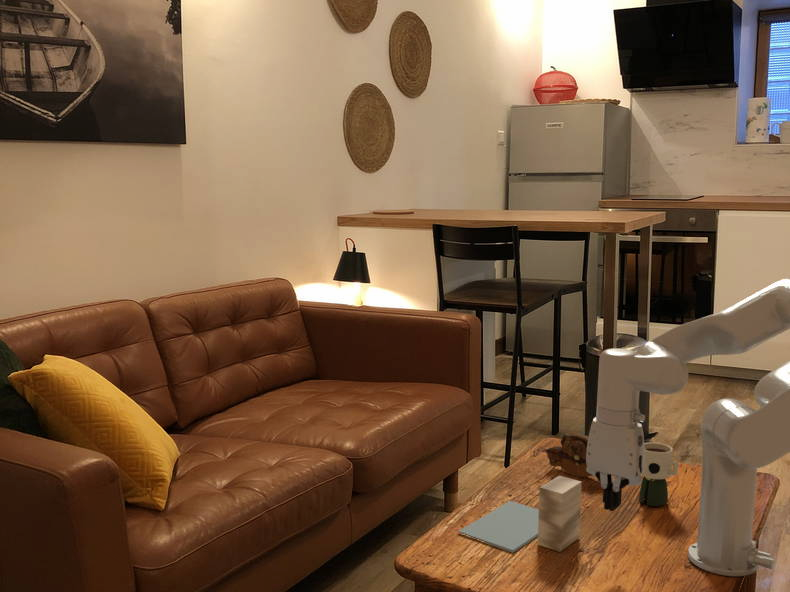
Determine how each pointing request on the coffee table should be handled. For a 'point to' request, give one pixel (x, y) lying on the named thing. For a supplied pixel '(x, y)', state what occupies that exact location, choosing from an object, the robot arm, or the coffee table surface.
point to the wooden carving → (570, 455)
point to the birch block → (559, 513)
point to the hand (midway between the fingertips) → (611, 507)
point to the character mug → (657, 473)
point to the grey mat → (506, 526)
